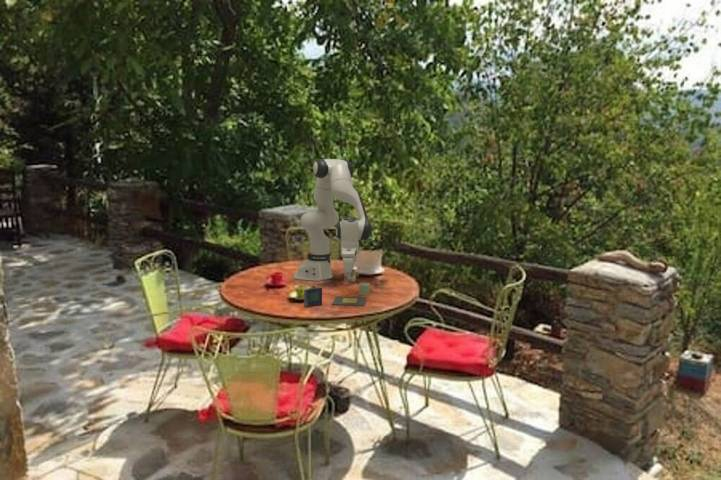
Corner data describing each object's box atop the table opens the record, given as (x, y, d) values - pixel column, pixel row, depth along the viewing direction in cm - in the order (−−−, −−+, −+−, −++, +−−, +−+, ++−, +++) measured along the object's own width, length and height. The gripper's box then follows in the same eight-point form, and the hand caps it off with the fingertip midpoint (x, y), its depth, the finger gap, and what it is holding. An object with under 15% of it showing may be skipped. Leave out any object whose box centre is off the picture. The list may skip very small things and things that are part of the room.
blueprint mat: (331, 305, 285) (331, 303, 285) (335, 297, 298) (335, 296, 298) (364, 306, 284) (364, 304, 284) (366, 298, 297) (366, 297, 296)
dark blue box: (305, 307, 281) (305, 286, 279) (303, 306, 284) (302, 284, 282) (323, 305, 285) (322, 283, 283) (320, 303, 288) (320, 282, 286)
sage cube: (359, 294, 303) (359, 285, 302) (360, 292, 308) (360, 283, 307) (368, 295, 302) (368, 285, 301) (369, 292, 307) (369, 283, 306)
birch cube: (344, 281, 287) (344, 271, 286) (345, 279, 291) (345, 269, 290) (354, 281, 286) (354, 272, 285) (355, 279, 291) (355, 269, 290)
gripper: (346, 245, 296) (346, 271, 299) (341, 254, 276) (341, 282, 279) (358, 245, 296) (358, 272, 298) (354, 254, 276) (354, 282, 278)
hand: (350, 277), depth 288 cm, fingers closed on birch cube, 5 cm apart
